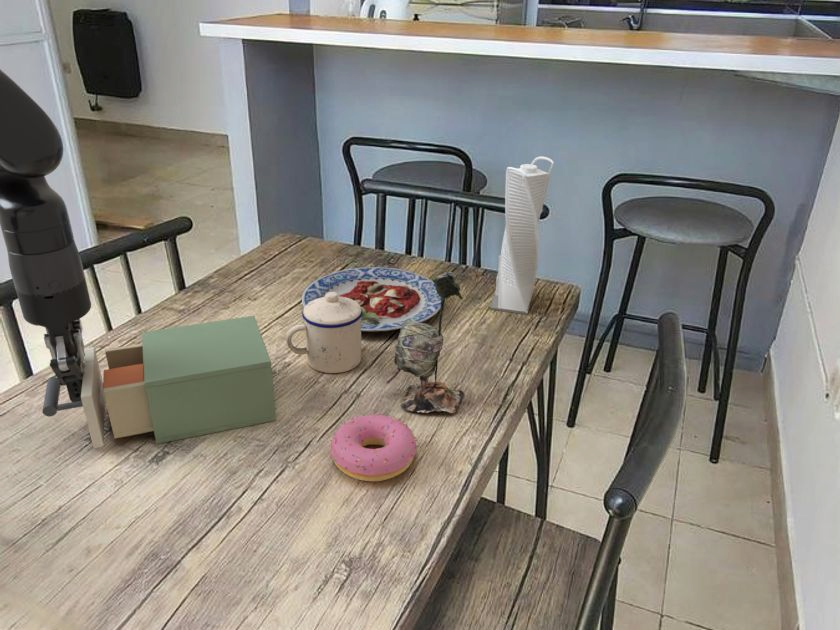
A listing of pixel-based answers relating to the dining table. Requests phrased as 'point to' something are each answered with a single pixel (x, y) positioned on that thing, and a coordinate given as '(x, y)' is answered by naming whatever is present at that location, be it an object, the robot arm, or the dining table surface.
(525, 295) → the skyscraper
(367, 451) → the doughnut
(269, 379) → the cabinet
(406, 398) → the stone figurine
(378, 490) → the dining table surface
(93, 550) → the dining table surface
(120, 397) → the drawer
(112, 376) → the block
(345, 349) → the teacup with lid
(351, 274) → the ceramic plate
